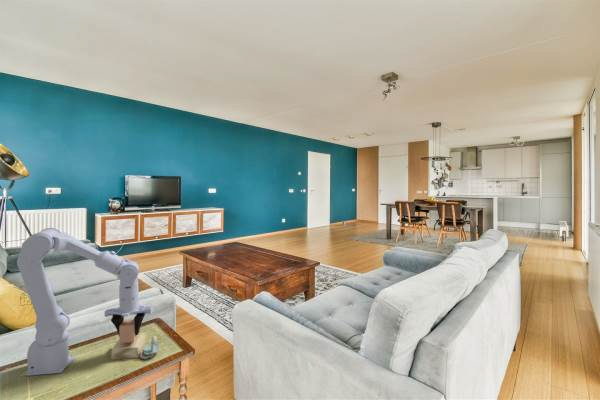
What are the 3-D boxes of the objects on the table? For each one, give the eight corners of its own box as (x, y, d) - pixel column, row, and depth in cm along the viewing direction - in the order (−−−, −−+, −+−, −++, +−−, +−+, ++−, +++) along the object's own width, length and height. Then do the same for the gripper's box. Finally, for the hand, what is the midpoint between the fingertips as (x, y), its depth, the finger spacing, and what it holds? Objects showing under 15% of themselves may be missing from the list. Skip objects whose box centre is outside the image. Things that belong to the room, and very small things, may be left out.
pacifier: (138, 362, 95) (159, 357, 97) (138, 344, 94) (158, 340, 97) (140, 350, 101) (159, 346, 104) (140, 333, 101) (158, 329, 103)
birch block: (111, 359, 95) (111, 349, 95) (121, 345, 103) (121, 336, 103) (137, 357, 97) (137, 347, 97) (145, 343, 105) (145, 334, 104)
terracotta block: (119, 343, 97) (119, 326, 96) (124, 335, 101) (124, 319, 101) (133, 341, 98) (133, 325, 97) (138, 334, 102) (138, 318, 102)
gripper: (100, 302, 93) (100, 342, 94) (148, 300, 96) (148, 338, 97) (109, 294, 100) (109, 331, 101) (154, 292, 103) (154, 328, 104)
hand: (129, 334), depth 100 cm, fingers closed on terracotta block, 4 cm apart
